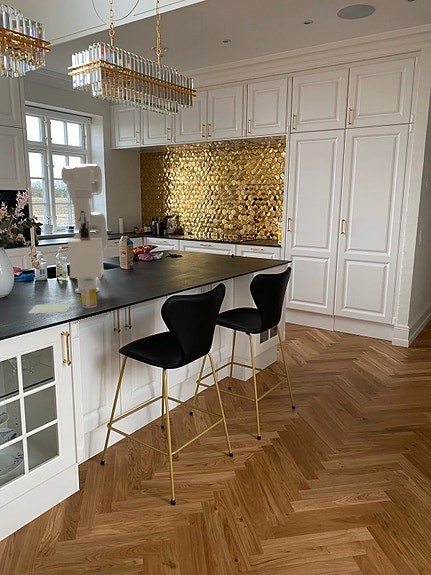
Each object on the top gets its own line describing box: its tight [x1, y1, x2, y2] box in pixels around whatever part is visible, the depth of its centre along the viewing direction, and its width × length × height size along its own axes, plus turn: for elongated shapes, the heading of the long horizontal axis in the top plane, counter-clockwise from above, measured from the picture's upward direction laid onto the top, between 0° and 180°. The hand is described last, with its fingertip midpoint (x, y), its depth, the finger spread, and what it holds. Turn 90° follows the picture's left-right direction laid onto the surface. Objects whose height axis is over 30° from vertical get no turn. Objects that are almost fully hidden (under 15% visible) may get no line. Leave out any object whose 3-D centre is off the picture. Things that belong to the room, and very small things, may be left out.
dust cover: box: [67, 226, 105, 279], centre depth 198 cm, size 13×13×22 cm
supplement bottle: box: [80, 279, 98, 309], centre depth 202 cm, size 7×7×13 cm
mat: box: [28, 302, 72, 315], centre depth 200 cm, size 16×16×1 cm
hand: (85, 236), depth 197 cm, fingers closed on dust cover, 4 cm apart
